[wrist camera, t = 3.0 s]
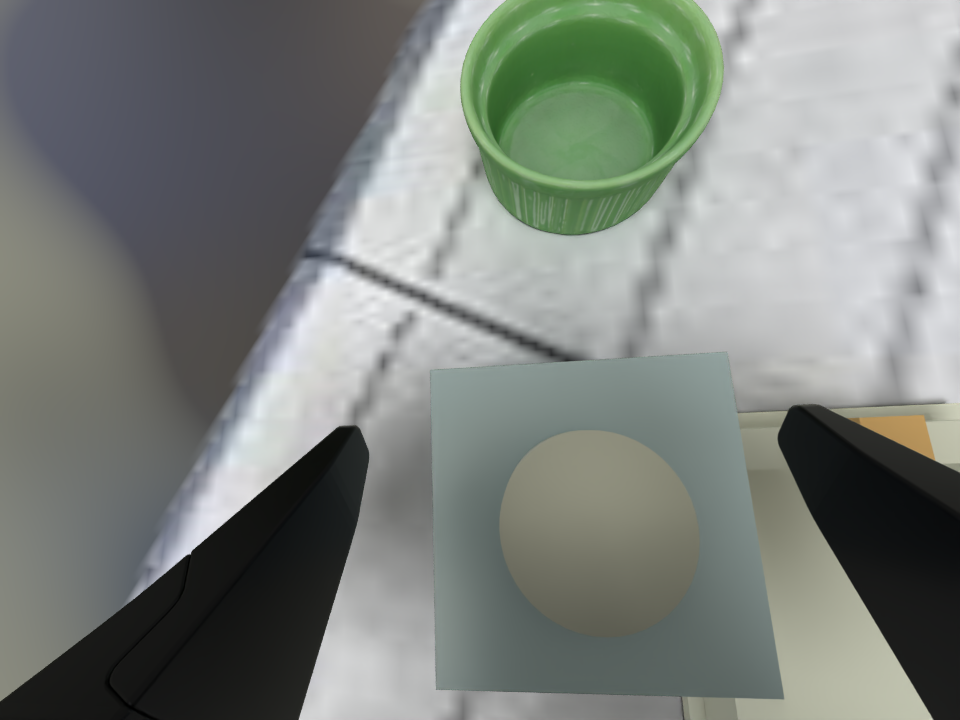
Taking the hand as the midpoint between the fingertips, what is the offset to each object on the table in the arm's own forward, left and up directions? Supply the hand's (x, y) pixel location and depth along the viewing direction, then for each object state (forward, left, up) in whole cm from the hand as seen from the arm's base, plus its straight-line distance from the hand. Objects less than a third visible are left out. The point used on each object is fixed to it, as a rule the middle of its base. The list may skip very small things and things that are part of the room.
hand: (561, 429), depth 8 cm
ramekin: (+10, +7, -8) cm, 15 cm away
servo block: (-1, -1, -7) cm, 8 cm away
